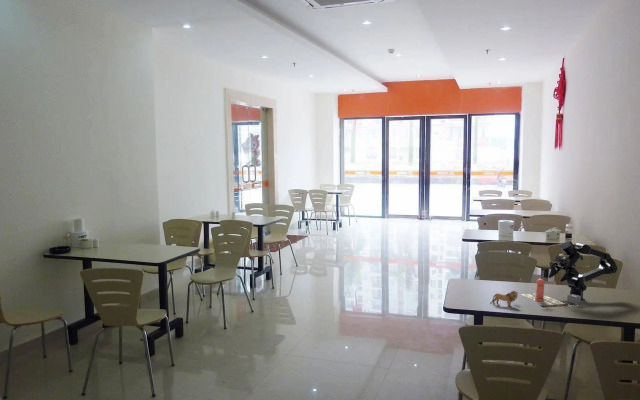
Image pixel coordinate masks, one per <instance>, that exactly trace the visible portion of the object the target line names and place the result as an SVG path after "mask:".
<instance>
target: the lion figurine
mask: <svg viewBox="0 0 640 400" xmlns="http://www.w3.org/2000/svg"><path fill="white" fill-rule="evenodd" d="M518 294H519V293H518V291H516V290H512V291H510V292H507V294H502V293H501V292H500V293H495V294H494V295H493V297H492V300H491V302H489V304H493V305H495V304H496V305H497V306H498V307H500V305H501V304H499V301H500V300H501V301H502V302H507V304H506V305H507V306H508V307H509V308H512V306H511V305H512V303H513V302H515V301H516V300H517V299H518V297H519V295H518Z"/></svg>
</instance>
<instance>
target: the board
mask: <svg viewBox="0 0 640 400" xmlns="http://www.w3.org/2000/svg"><path fill="white" fill-rule="evenodd" d="M521 295H522V297H523V296H524V297H525V298H528V299H531V300H533V301H535V297H536V292H534V293H533V294H530V293H523V294H521V293H520V296H521ZM536 302H537V303H539V304H542V305H540V307H541V308H547V309H548V308H559V307H562V306H563V307H569V303H565V302H562V301H560V300H557V299H554V298H552V297H549V296H548V295H546V294H544V302H539V301H536ZM553 303H554V304H553Z"/></svg>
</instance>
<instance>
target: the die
mask: <svg viewBox="0 0 640 400" xmlns="http://www.w3.org/2000/svg"><path fill="white" fill-rule="evenodd" d="M566 297H567V298H566V302H567V303H569V305H571V306H573V305H574V307H577V305H578V306H581V301H582V300H581V296H578V295H574V294H571V295H570V294H567V296H566Z"/></svg>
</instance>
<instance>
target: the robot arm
mask: <svg viewBox="0 0 640 400" xmlns="http://www.w3.org/2000/svg"><path fill="white" fill-rule="evenodd" d="M560 249H561V250H562V251H563V252H564V254H565V255H567V256H559V255H556V256H555V258H554V261H550V262H549V263H548V265H549V267H550V272H549V274H548V279H551V278H553V277H554V276H555V275H557V274H558V273H559V272H560V271H561V270H562V271H565V273H564V274H563V276H562V277H561V279H559V281H560V282H561V283H563V282H565V281H566V283H567V287H568V288H570V291H569V295H571V294H574V295H578V296H581V301H585V300H586V298H584V291H586V290H587V288H588V287H587V285H586V283H587V282H589V281H591V280H593V279H596V278H599V277H601V276H603V275H612V274H615V273H617V271H618V265H617V263H616V262H615V260H614V259H613V258H612V256H611V255H610V253H609V252H605V251H601V250H598V249H594V248H592V247H591V246H590V245H588V244H586V243H585V244H583V243H580V242H577V243H576V244H574V243H573V242H572V241H571V240H567V241H565V242H563V243H562V244H561V245H560ZM581 254H582V255H581ZM583 255H591V256H594V257H597V258H599V266H598V267H597V268H595V269H591V270H589V271H587V272H585V273H581V274H580V272H579V271H578V270H577V268H576V265H577V263H578V261H580V260H581V261H584V256H583ZM557 262H558V263H557Z"/></svg>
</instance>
